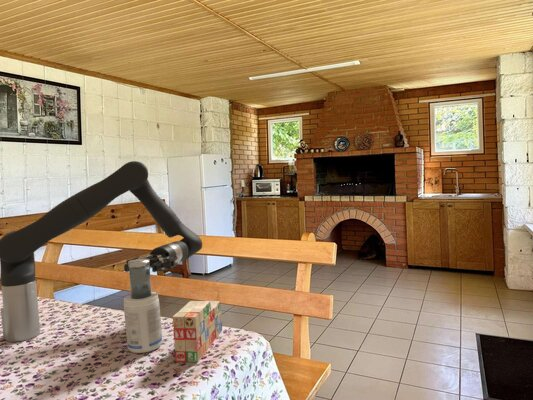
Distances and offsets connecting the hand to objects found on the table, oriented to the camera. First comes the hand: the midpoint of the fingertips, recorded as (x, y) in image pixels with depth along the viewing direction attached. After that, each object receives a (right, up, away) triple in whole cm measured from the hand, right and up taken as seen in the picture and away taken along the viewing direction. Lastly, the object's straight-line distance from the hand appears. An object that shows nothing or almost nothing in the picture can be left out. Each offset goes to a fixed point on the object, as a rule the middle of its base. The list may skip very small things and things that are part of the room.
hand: (139, 268), depth 110 cm
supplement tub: (+1, -23, +1) cm, 23 cm away
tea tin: (0, -8, +1) cm, 8 cm away
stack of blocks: (+17, -22, +1) cm, 28 cm away
